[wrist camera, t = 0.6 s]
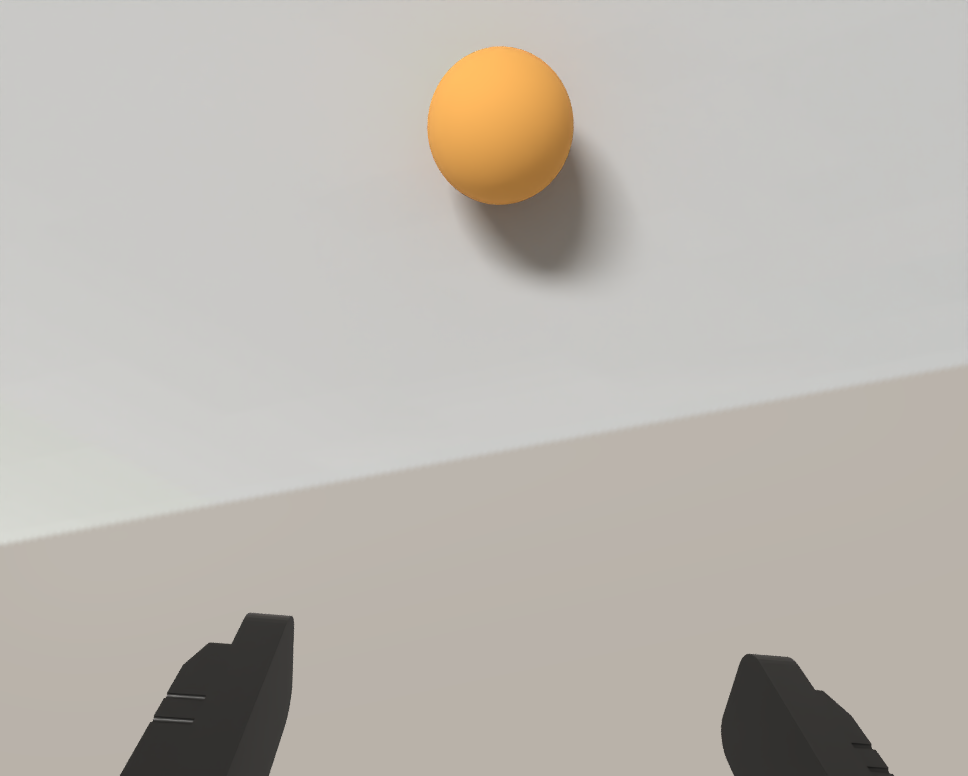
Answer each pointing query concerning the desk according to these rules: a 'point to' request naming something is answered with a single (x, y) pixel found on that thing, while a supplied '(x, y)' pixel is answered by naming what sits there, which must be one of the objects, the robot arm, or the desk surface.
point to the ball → (500, 125)
